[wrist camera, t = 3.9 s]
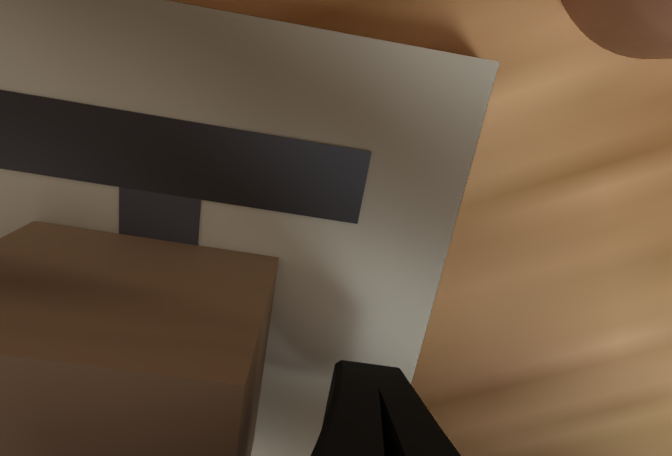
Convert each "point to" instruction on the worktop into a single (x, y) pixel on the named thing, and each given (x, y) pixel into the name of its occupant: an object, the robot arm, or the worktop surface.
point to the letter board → (251, 166)
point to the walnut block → (129, 344)
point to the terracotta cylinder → (626, 25)
